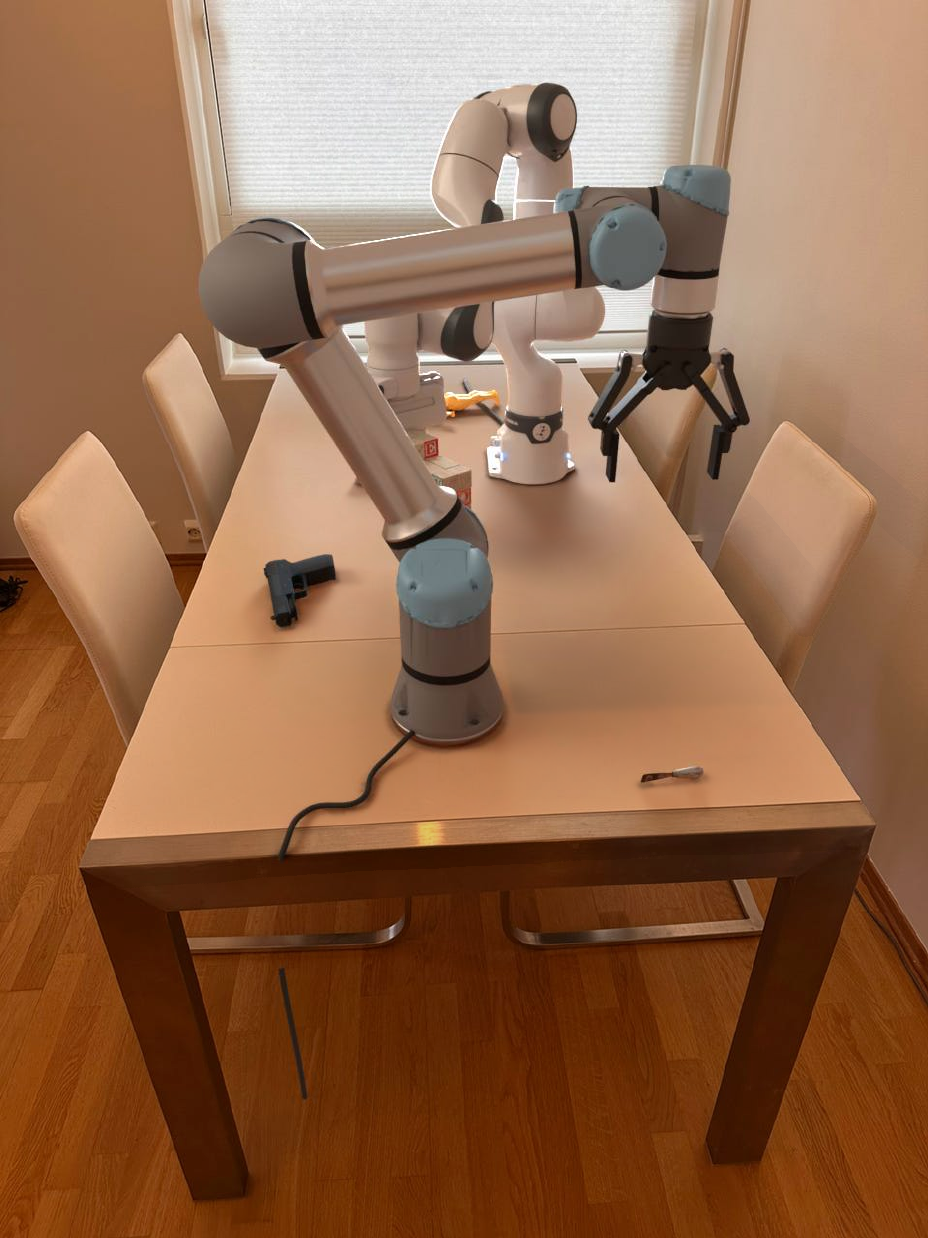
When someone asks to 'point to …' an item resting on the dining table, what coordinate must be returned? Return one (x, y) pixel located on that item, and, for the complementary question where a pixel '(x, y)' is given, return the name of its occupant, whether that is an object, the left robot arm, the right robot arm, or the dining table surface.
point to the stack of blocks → (443, 466)
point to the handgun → (295, 583)
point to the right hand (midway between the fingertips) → (397, 457)
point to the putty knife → (674, 774)
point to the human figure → (467, 400)
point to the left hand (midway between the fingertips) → (661, 477)
